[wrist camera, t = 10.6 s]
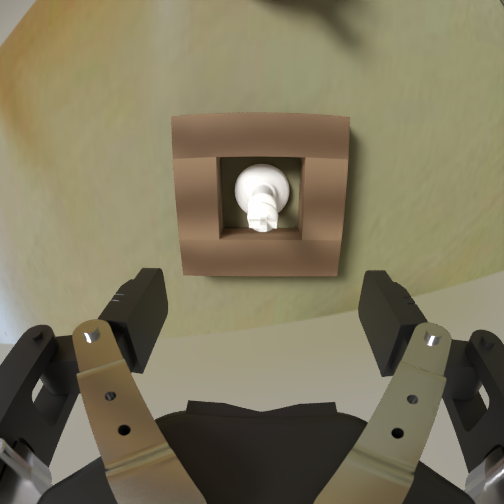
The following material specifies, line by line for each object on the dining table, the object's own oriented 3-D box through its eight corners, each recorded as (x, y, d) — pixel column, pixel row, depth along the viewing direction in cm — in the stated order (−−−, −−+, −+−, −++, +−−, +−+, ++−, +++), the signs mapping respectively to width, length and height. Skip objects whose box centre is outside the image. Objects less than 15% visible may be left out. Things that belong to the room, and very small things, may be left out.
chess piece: (288, 217, 28) (301, 266, 19) (234, 215, 28) (222, 265, 19) (290, 164, 26) (307, 188, 17) (234, 163, 26) (220, 187, 17)
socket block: (180, 116, 24) (171, 116, 22) (340, 117, 24) (349, 117, 21) (190, 260, 30) (183, 275, 27) (330, 261, 30) (337, 276, 27)
